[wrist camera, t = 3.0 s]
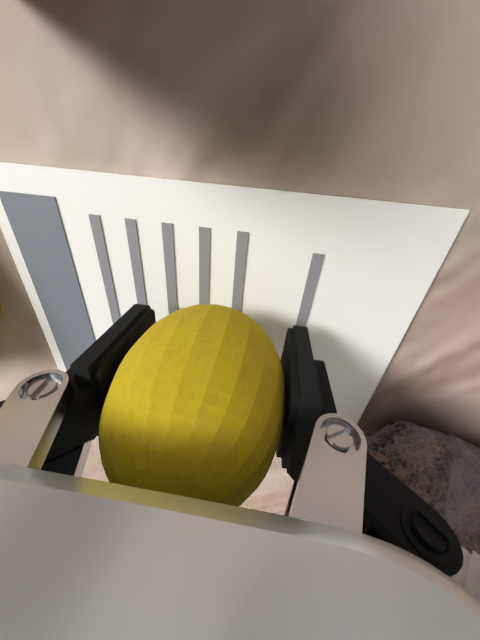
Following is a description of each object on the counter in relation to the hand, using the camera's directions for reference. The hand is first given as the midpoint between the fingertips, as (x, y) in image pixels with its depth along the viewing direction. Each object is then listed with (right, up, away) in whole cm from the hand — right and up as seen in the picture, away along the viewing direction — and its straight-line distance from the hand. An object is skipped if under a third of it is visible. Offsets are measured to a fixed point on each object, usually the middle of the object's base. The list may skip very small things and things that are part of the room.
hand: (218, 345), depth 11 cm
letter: (-1, 0, +2) cm, 2 cm away
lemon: (0, +1, +1) cm, 2 cm away
